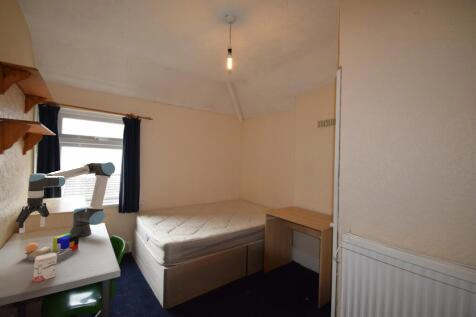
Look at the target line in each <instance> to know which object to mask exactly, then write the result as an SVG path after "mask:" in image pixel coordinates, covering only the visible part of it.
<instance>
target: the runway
mask: <svg viewBox="0 0 476 317" xmlns="http://www.w3.org/2000/svg"><path fill="white" fill-rule="evenodd" d="M50 253H56V254H57V263H58V262H59V263H60V262H61V261H62V260H64V259H65V260H66V258H68V257H70V256H72V255H73V251H72V249H69V250H61V251H52V249H51V247H49V246H44V247H42V248H40V249H37V250H36V251H35V252H32V253H31V254H30V255H29V257H28V258H27V261H34V262H35V257H37V256H41V255H46V254H50Z"/></svg>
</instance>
